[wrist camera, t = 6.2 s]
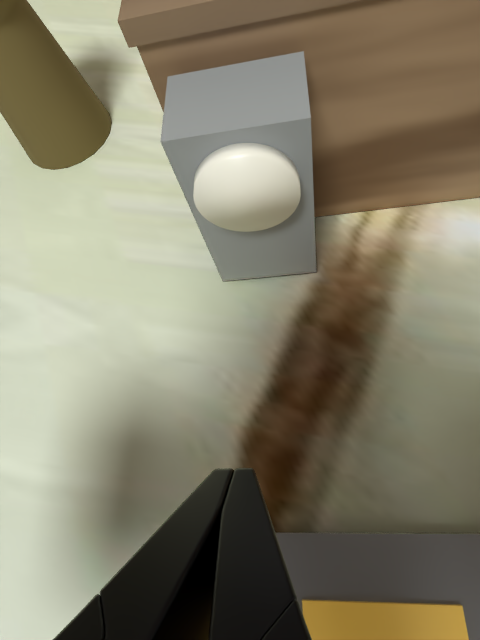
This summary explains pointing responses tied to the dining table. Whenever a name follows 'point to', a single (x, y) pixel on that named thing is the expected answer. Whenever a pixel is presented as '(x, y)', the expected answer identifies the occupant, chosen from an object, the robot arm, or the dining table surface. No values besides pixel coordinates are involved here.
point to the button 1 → (246, 163)
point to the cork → (46, 93)
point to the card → (386, 584)
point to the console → (346, 85)
